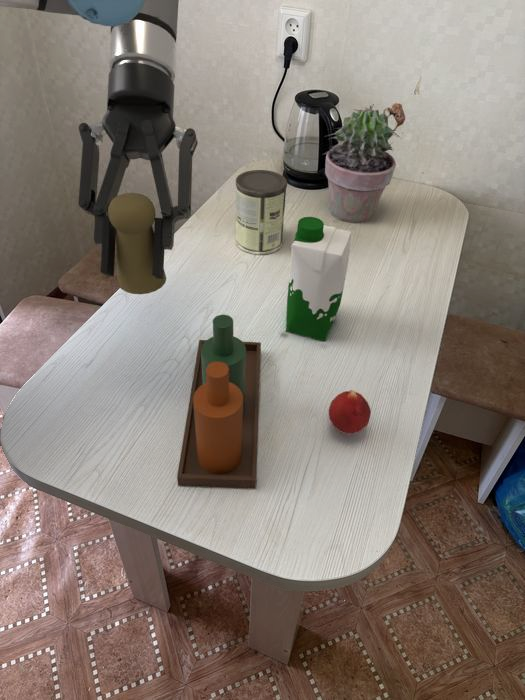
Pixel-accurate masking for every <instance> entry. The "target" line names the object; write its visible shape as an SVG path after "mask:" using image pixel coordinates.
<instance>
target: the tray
mask: <svg viewBox="0 0 525 700" xmlns="http://www.w3.org/2000/svg"><path fill="white" fill-rule="evenodd" d="M206 340H207V339H199V340H198V346H197V352H196V359H195V364H194V371H193V375H192V376H193V377H192V383H191V389H190V394H189V402H188V406H187V413H186V420H185V426H184V432H183V439H182V444H181V449H180V450H181V451H180V457H179V463H178V468H177V469H178V470H177V475H176V481H177V486H178V487H192V488H193V487H194V488H217V489H218V488H219V489H243V490H244V489H246V490H256V489H257V474H258V473H257V472H258V470H257V468H258V440H259V436H258V435H259V414H260V413H259V410H260V383H261V382H260V380H261V379H260V377H261V376H260V375H261V350H262V349H261V347H262V346H261V345H262V343H261V342H260V341H259V342H258V341H242V342H243V343H244V345H245V347H246V370H245V406H244V412H243V421H242V457H241V461H240V463H239V465H238V466H237V467H236V468H235V469H234V470H233V471H231V472H229V473H226V474H212V473H209V472H207V471H206V470H204V469H203V468H202V467H201V465H200V464H199V461H198V454H197V442H196V429H195V416H194V404H193V397H194V394H195V392H196V390H197V389H198V388H199V387H200V386H201V385H203V380H202V363H201V347H202V345H203V343H204V342H205V341H206Z"/></svg>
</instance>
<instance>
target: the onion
mask: <svg viewBox="0 0 525 700" xmlns="http://www.w3.org/2000/svg"><path fill="white" fill-rule="evenodd" d="M371 412H372V411H371V407H370V404H369V402H368V401H367V400H366V398H365V397H364V396H363V394H361V393H359V392H358V391H354V389H349V390H347V391H346V390H345V391H343V392H340V393H338V394H337V395H336V396H335V397H334V398H333V399H332V400H331V402H330V403H329V407H328V418H329V421H330V422H331V424H332V425H333V427H334V428H335V429H336V430H337V431H339V432H341V433H343V434H347V435H349V434H350V435H353V434H356V433H359V432H361V431H363V430H364V429H365V428H366V427H368V424H369V423H370V419H371Z"/></svg>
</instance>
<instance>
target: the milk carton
mask: <svg viewBox="0 0 525 700" xmlns="http://www.w3.org/2000/svg"><path fill="white" fill-rule="evenodd" d="M296 228H297V229H296V232H295V235H294V239H293V240H292V244H291V251H290V252H291V253H290V254H291V255H290V266H289V274H288V275H289V276H288V288H287V296H286V297H287V298H286V321H285V332H286V333H289V334H292V335H293V334H294V335H297V336H301V337H305V338H310V339H313V340H318V341H321V342H326V340H327V338H328V335H329V333H330V331H331V328H332V326H333V324H334V322H335V319H336V318H337V315H338V312H339V309H340V306H341V303H342V297H343V292H344V287H345V283H346V278H347V277H346V276H347V271H348V266H349V259H350V251H351V249H350V248H351V241H352V231H350V230H345V229H341V228H337V227H336V226H332V225H325V224H324V221H322V219H320V218H318V217H316V216H315V217H314V216H304V217H301V218H299V219H298V221H297V227H296Z"/></svg>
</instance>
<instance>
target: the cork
mask: <svg viewBox="0 0 525 700" xmlns="http://www.w3.org/2000/svg"><path fill="white" fill-rule="evenodd" d="M108 215H109V220H110V222H111V224H112V225H113V226H114V227H115V228H116V243H115V248H116V274H117V277H116V278H117V286H118V287H119V289H121V291H124V292H126V293H128V294H132V295H146V294H151V293H154V292H157V291H158V290H160V289H161V288H162V287H163V286H164V285H165V284H166V281H167V275H166V271H165V270H164V271H163V279H157V278H156V277H154V276H153V275H152V268H153V247H154V228H153V226H154V224H155V218H156V209H155V205H154V203H153V201H152V200H151V199H150V197H148V196H147V195H144V194H141V193H137V192H126V193H121V194H118V195H117V197H115V198H114V199H112V201H111V202H110V204H109V207H108Z"/></svg>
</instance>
